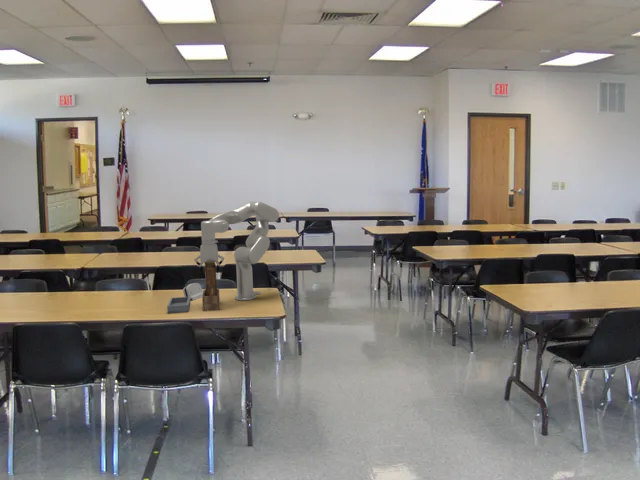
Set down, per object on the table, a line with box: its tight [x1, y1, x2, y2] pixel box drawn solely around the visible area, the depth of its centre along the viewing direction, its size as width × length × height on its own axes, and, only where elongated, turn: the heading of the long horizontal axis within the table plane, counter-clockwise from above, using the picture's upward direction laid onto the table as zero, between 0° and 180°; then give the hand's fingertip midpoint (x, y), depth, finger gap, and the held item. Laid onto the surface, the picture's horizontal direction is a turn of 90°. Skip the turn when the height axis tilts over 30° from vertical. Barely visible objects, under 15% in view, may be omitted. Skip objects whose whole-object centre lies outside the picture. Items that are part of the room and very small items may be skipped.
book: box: [204, 262, 218, 296], centre depth 314 cm, size 16×6×25 cm, turn 14°
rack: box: [201, 288, 221, 312], centre depth 315 cm, size 9×21×8 cm, turn 10°
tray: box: [166, 296, 191, 314], centre depth 312 cm, size 11×22×4 cm, turn 10°
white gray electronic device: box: [182, 282, 204, 301], centre depth 339 cm, size 17×5×10 cm, turn 163°
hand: (210, 272), depth 313 cm, fingers open, 8 cm apart
